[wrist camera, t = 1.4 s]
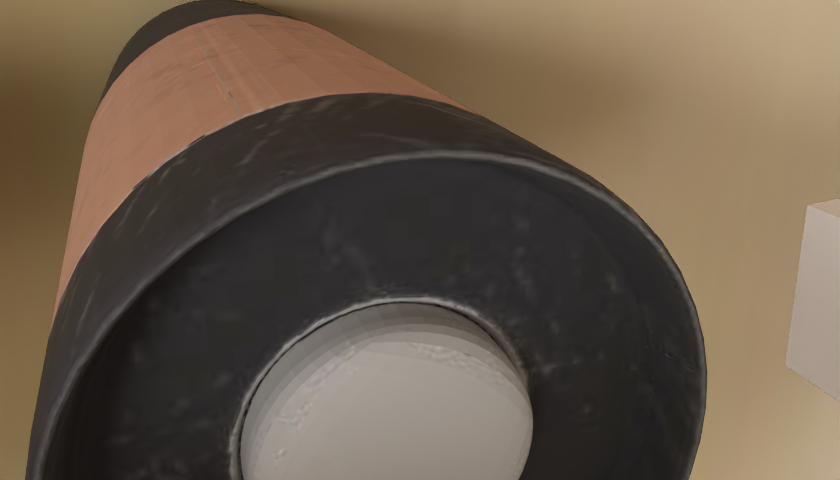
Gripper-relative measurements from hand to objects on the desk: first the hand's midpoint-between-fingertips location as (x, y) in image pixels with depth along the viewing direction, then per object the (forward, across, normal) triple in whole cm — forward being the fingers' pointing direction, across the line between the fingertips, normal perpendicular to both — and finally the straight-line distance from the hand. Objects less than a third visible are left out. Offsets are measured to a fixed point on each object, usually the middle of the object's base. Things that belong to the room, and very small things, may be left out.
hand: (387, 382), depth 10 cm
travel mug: (+18, 0, 0) cm, 18 cm away
